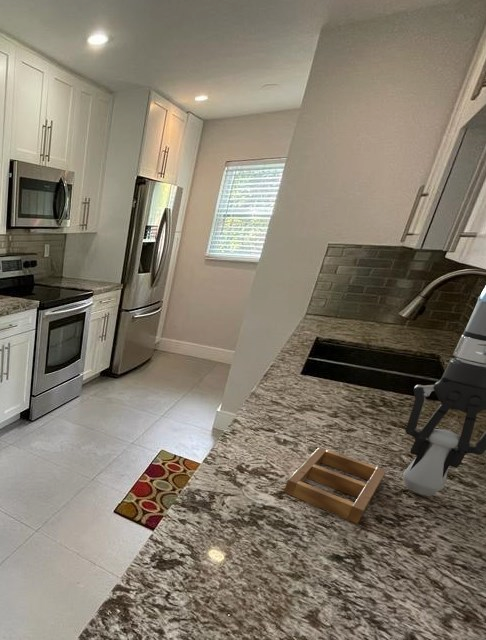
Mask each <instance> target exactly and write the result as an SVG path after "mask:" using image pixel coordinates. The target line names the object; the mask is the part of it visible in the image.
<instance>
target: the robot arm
mask: <svg viewBox="0 0 486 640" xmlns="http://www.w3.org/2000/svg"><path fill="white" fill-rule="evenodd" d="M453 356H454V358H453V357H452V358H451V359H450V360H449V362H448V363H447V365H446V368H445V370H444V372H443V374H442V376H441V378H440V379H439V380H438V381H436V382H435V383H434V384H426V385H423V384H416V385H415V386H414V388H413V391H412V392H413V396H414V401H413V405H412V408H411V411H410V414H409V418H408V421H407V425H406V427H405V430H404V431H405V434H406V435H408V436H411V437H413V439H414V442H413V443H412V446H411V449H410V450H409V453H410V454H411V455H414V456H416V457H415V458H416V459H415V458H414V459H415V461H414V460H413V461H414V463H413V465H412V467H411V469H412V468H413V467H414V466H415V465H416V464H417V463H418V462H419V461H420V460H421V459H422V457H423V455H424V453H425V451H426V449H427V447H428V445H429V442H430V441H429V440H428V439H427V437H428V436H429V434H430V433H431V432H432V431H433V430H435V428H436V427H437V426H438V425H439V423H440V422H441V420H442V419H443V418H444V417H445V415H446V414H447V413H448V412H449V410H454V411H455V410H456V411H459V412H462V413H465V418H464V422H463V426H462V430H461V432H460V433H461V434H460V441H459V445H458V447H457V448H452V449H451V450H450V452H449V454H448V456H447V458H446V460H445V462H444V468H443V477H444V475H445V473H446V471H447V469H448V470H449V467H452V468H456V469H458V467H460V465H461V464H462V461H463V460H464V458H465V456H466V455H468V454H475V455H478V456H479V455H483V454H484V453H485V452H486V430H485V431H484V432H483V434H482V435H481V437H480V438H478V441H476V443H475V444H470V442H471V438H472V435H473V431H474V427H475V423H476V420H477V416H478V413H481V412H483V411H486V285H485V286H484V288H483V290H482V292H481V294H480V295H479V296H478V298H477V302H476V304H475V307H474V308H473V311H472V314H471V315H470V318H469V320H468V322H467V325H466V327H465V329H464V330H463V333H462V334H461V336H460V338H459V340H458V343H457V345H456V347H455V349H454V350H453ZM432 392H435V395H436V396H437V399H438V400H439V402H440V405H439V406H438V407H437V409H436V410H435V411H434V413H433V414H432V415H431V416H430V418H429V419H428V420H427V422H426V423H425V424H424V426H423V427H422V428H421V430H420V429H418V428H417V427H418V424H419V421H420V418H421V415H422V412H423V408H424V405H425V402H426V398H427V397H430V395H431V393H432ZM410 454H409V455H410ZM411 469H410V470H411Z"/></svg>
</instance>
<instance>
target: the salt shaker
mask: <svg viewBox="0 0 486 640" xmlns="http://www.w3.org/2000/svg"><path fill="white" fill-rule="evenodd" d="M460 437H461V435H459V434H457V433H455V432H452V431H449V430H447V429H446V430H445V429H438V428H437V429H435V428H434V429H433V431H432V432H431V433H430V434H429V436H428V437H427V438H426V439H427V440H429V441H430V442H429V445H428V447H427V449H426V451H425V453H424V455H423V457H422V459H421V460H420V461H419V462H418V463H417V464H416V465H415V466H414V467H413V468H412V469H411V467H412V465H413V463H414V461H415V459H416V457H415V458H414V459H413V460H412V462H410V464H409V465H408V467H406V468H405V470H404V471H403V474H402V477H403V484H404V485H405V487H406V488H407V490H409V491H412V492H414V493H416V494H418V495H422V496H429V497H431V496H433V495H435V494H437V493H438V492H440V491H441V490H443V489H444V488H445V487H446V482H447V477H448V471H449V468H448V469H447V471H446V473H445V475H444V477H443V468H444V462H445V460H446V458H447V456H448V454H449V452H450V450H451V449H452V448H458V445H459V441H460ZM410 469H411V470H410Z"/></svg>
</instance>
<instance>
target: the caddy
mask: <svg viewBox="0 0 486 640" xmlns="http://www.w3.org/2000/svg"><path fill="white" fill-rule="evenodd" d="M321 464H323V465H325V466H328V467H331V468H334V469H337V470H340V471H343V472H345V473H348V474H350V475H353V476H356V477H358V478H361V479H365V480H367V482H364V481H361V480H358V479H355V478H353V477H350V476H348V475H345V474H342V473H340V472H337V471H334V470H331V469H329V468H326V467H324V466H320V465H321ZM386 472H387V469H385V468H383V467H380V466H377V465H374V464H371V463H368V462H365V461H362V460H359V459H356V458H353V457H351V456H347V455H344V454H341V453H339V452H336V451H333V450H330V449H327V448H324V447H321V446H318V448H317V449H316V450H315V451H314V452H313V453H312V454H311V455H310V456H309V457H308V458H307V459H306V460H305V461H304V462H303V463H302V465H300V466H299V467H298V468H297V469H296V471H294V473H293V474H292V475H291V476H290V477H289V478H288V479H287V481H286V484H285V487H284V489H283V493H284V492H285V493H284V494H287V495H290V496H291V497H294V498H296V499H298V500H300V501H303V502H305V503H307V504H309V505H312V506H315V507H316V508H319V509H321V510H324V511H326V512H329V513H331V514H334V515H336V516H338V517H341V518H342V519H344V520H347V521H349V522H351V523H354V524H356V525H358V524H359V522H360V520H361V518H362V517H363V515H364V513H365V511H366V510H367V508H368V506H369V504H370V503H371V501H372V499H373V498H374V496H375V494H376V492H377V490H378V489H379V487H380V485H381V483H382V482H383V479H384V477H385V475H386ZM307 480H310V481H311V480H312V481H314V482H316V483H318V484H321V485H324V486H326V487H329V488H332V489H334V490H336V491H339V492H341V493H343V494H347V495H348V496H352V497H354V498H357V499H356V500H355V501H350V500H348V499H346V498H343V497H340V496H338V495H336V494H333V493H331V492H328V491H325V490H323V489H320V488H318V487H316V486H313V485H311V484H308V483H306V481H307Z"/></svg>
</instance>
